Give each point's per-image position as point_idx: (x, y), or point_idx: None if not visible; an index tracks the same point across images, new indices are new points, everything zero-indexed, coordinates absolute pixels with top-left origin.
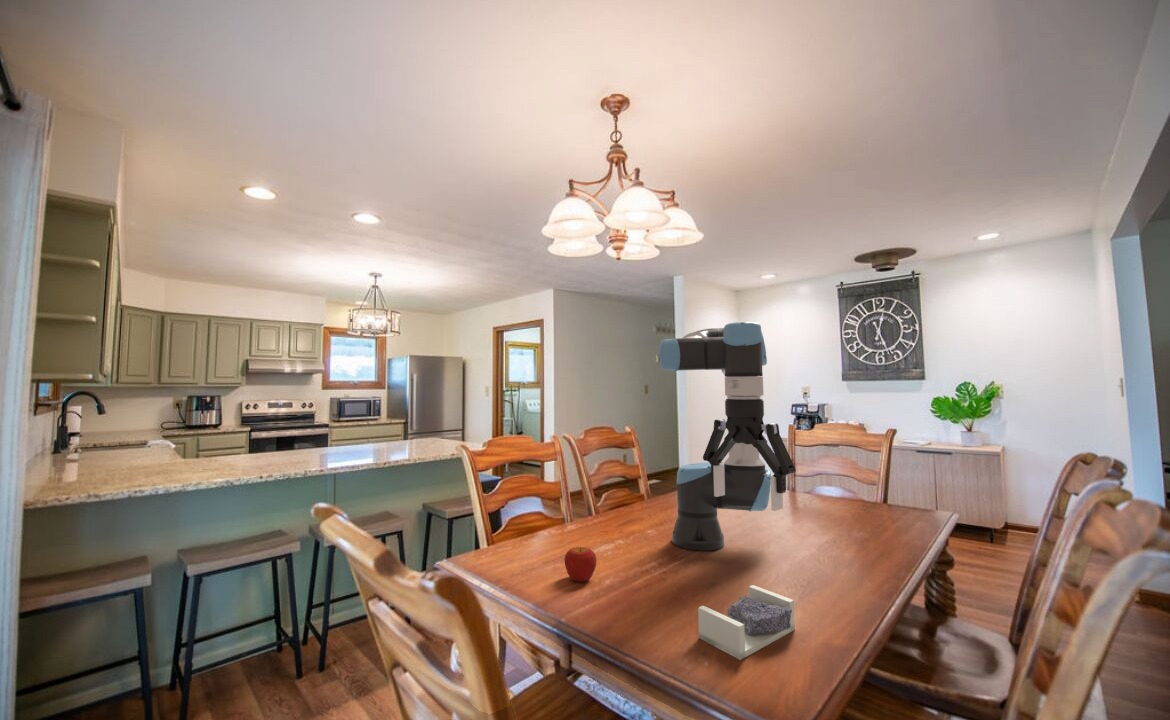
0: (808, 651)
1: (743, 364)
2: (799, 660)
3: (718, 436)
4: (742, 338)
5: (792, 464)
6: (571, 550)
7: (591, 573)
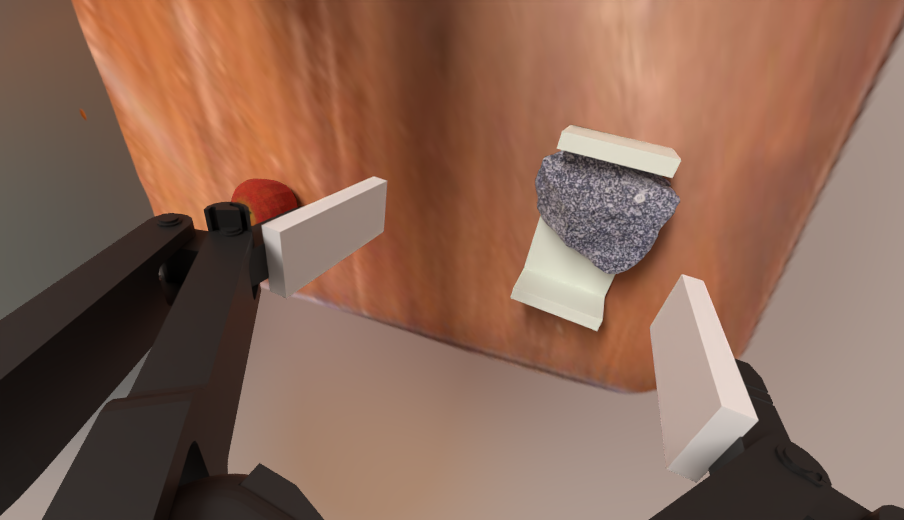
0: (711, 220)
1: None
2: (695, 259)
3: (49, 422)
4: None
5: None
6: None
7: (292, 203)
